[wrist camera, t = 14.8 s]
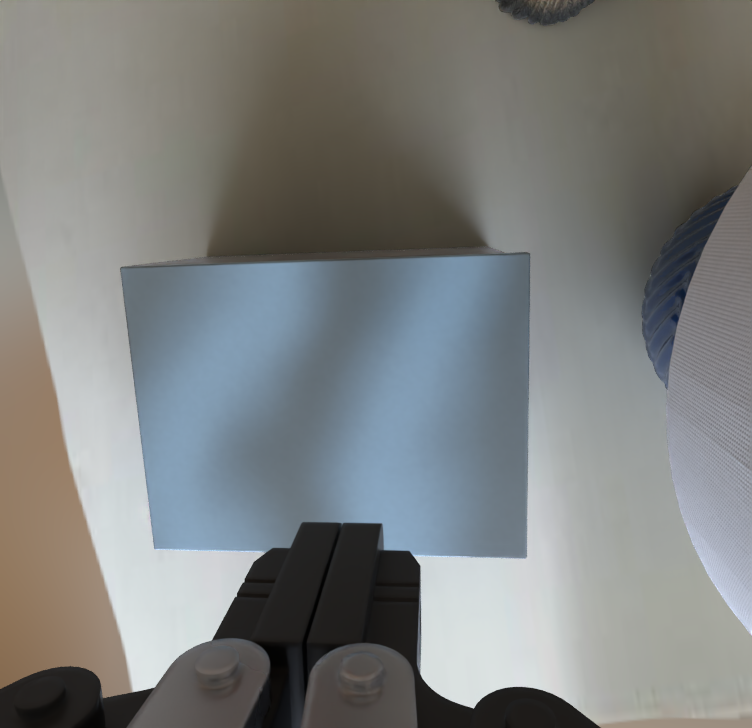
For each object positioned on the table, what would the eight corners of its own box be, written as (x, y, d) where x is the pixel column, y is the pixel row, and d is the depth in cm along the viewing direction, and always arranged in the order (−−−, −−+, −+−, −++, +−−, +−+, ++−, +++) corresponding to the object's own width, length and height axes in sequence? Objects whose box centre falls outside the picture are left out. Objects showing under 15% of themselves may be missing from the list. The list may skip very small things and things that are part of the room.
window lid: (527, 252, 24) (530, 252, 24) (524, 549, 27) (526, 559, 26) (128, 265, 26) (119, 266, 26) (161, 541, 29) (153, 550, 28)
